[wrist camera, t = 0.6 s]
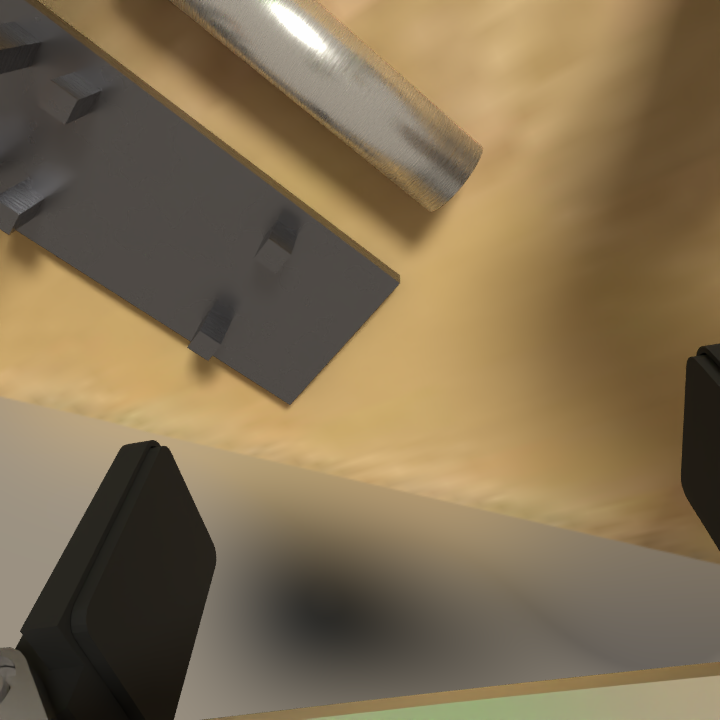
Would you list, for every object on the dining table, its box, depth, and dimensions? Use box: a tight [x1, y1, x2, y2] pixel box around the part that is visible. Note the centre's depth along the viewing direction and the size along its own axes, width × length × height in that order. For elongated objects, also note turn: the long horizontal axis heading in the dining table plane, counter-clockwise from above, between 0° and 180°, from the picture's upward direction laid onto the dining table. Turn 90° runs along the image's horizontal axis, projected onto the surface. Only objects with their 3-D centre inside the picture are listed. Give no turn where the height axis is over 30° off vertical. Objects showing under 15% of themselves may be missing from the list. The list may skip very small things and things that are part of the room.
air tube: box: [170, 0, 483, 212], centre depth 32 cm, size 20×4×4 cm, turn 52°
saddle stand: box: [0, 0, 400, 405], centre depth 34 cm, size 12×28×10 cm, turn 52°
